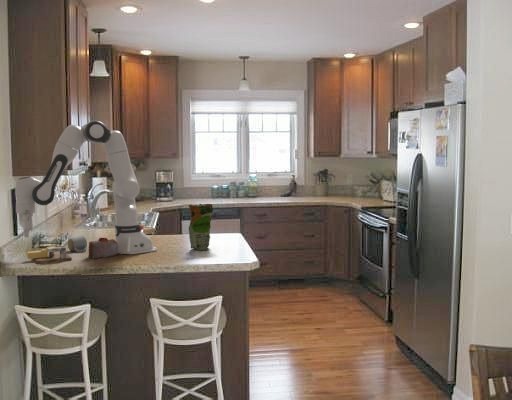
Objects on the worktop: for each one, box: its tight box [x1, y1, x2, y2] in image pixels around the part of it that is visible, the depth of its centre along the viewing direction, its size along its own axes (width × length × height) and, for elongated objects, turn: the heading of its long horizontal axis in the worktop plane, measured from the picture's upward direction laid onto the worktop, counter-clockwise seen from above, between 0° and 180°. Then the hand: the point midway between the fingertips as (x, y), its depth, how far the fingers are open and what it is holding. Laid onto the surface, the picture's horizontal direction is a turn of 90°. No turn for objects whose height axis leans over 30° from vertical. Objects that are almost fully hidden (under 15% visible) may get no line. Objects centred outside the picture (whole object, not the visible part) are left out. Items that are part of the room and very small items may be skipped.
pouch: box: [188, 203, 214, 252], centre depth 297 cm, size 11×12×25 cm
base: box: [32, 246, 72, 265], centre depth 274 cm, size 16×14×6 cm
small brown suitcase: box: [88, 237, 119, 260], centre depth 280 cm, size 14×8×10 cm, turn 128°
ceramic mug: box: [67, 235, 88, 253], centre depth 295 cm, size 11×8×8 cm
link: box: [26, 246, 55, 260], centre depth 273 cm, size 13×5×4 cm, turn 119°
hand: (26, 237), depth 275 cm, fingers closed
